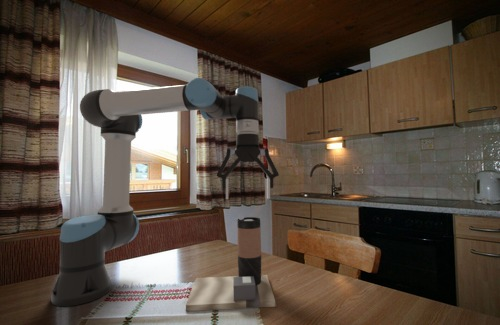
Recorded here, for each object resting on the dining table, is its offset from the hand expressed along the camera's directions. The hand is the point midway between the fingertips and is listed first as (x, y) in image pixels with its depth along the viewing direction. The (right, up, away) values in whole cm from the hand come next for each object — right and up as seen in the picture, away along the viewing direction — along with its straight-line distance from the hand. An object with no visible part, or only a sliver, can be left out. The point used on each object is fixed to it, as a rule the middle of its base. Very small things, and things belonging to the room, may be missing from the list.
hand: (247, 198), depth 82 cm
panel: (-5, -28, -6) cm, 29 cm away
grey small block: (-1, -26, -11) cm, 28 cm away
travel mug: (+1, -27, -2) cm, 27 cm away
